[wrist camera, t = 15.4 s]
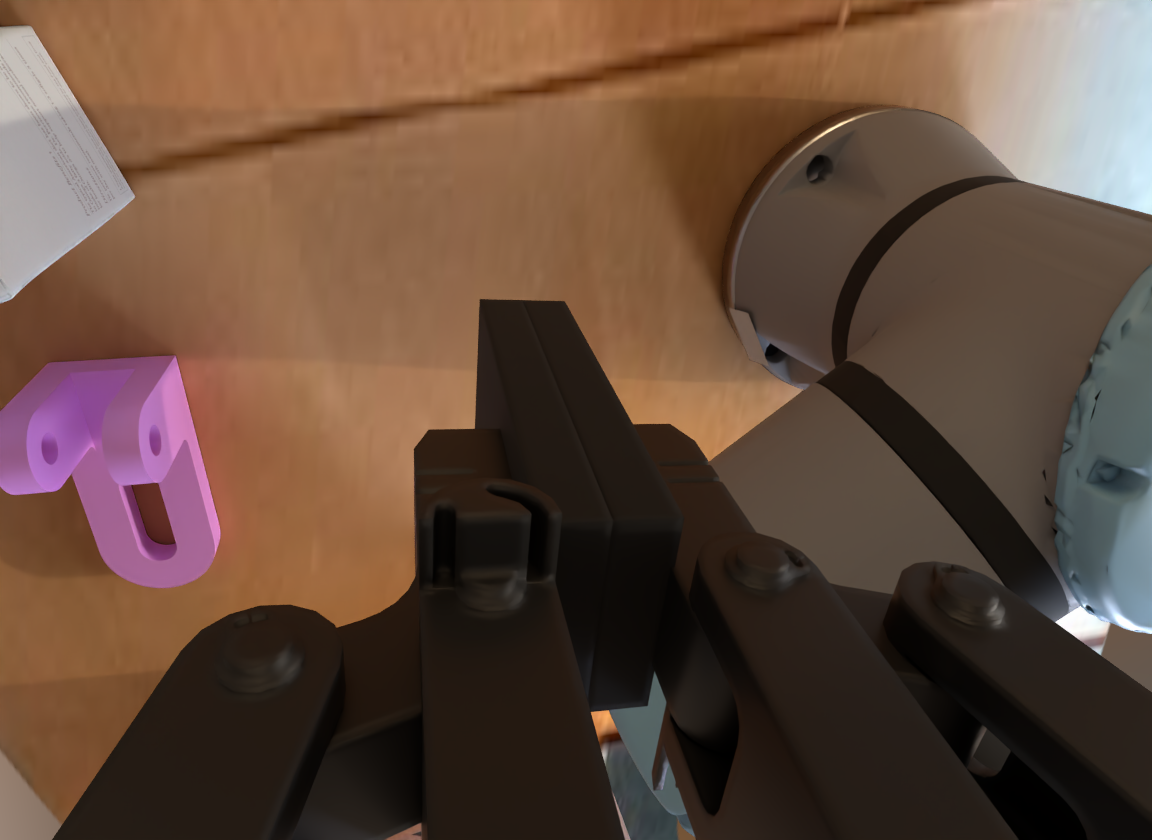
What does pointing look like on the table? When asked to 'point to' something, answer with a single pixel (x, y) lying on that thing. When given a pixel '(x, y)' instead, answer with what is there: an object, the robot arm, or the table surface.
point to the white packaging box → (46, 165)
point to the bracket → (116, 459)
